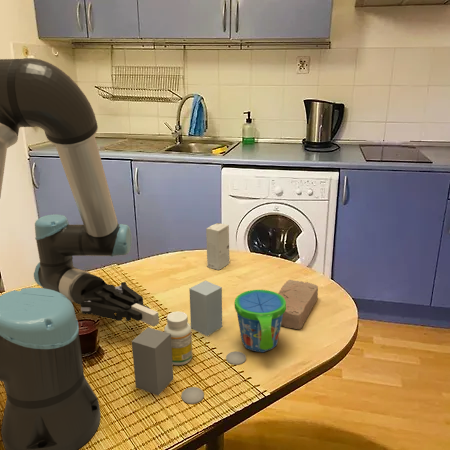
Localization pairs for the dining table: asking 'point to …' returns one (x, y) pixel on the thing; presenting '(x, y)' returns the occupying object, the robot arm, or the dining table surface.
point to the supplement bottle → (179, 337)
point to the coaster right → (236, 358)
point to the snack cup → (260, 318)
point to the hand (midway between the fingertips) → (156, 319)
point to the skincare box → (217, 246)
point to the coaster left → (192, 395)
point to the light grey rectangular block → (206, 307)
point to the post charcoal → (152, 360)
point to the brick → (297, 302)
